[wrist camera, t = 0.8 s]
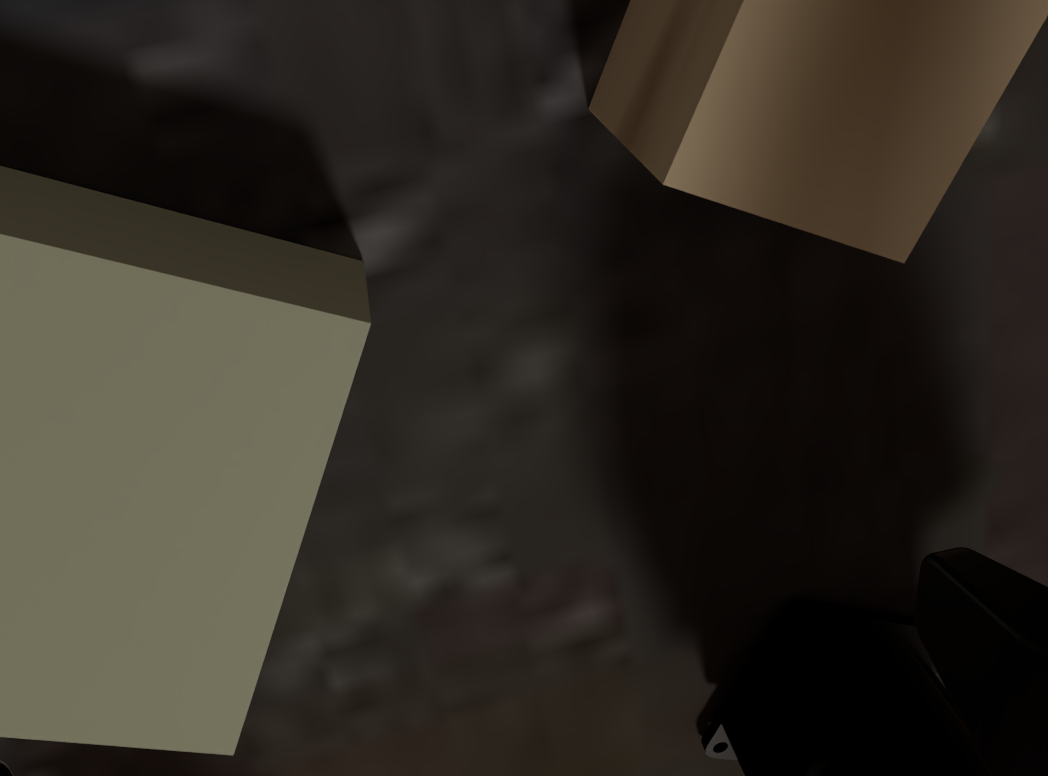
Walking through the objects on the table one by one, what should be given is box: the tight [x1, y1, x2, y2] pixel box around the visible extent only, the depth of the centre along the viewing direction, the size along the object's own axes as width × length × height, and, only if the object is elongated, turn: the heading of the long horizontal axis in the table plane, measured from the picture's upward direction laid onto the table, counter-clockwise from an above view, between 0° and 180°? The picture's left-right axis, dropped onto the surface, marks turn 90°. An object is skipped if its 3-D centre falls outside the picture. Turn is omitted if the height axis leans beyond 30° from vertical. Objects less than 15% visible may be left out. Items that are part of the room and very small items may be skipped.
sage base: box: [0, 166, 371, 755], centre depth 19 cm, size 12×12×3 cm
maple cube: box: [588, 0, 1048, 263], centre depth 17 cm, size 5×5×5 cm
